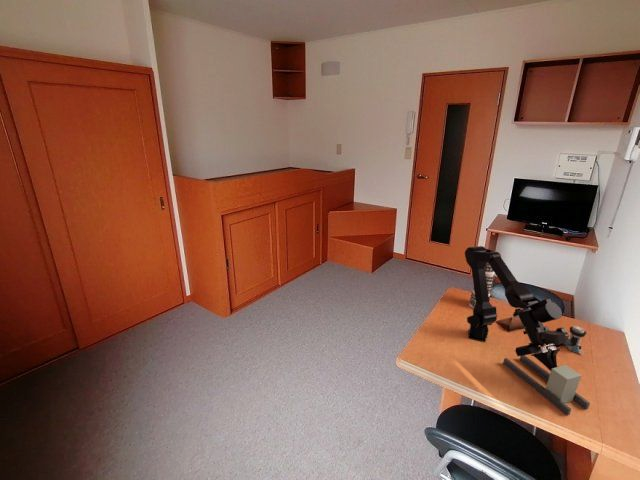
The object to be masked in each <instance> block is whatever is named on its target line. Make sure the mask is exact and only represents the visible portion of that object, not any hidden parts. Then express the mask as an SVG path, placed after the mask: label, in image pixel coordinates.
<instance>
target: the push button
mask: <svg viewBox="0 0 640 480" xmlns="http://www.w3.org/2000/svg"><path fill="white" fill-rule="evenodd" d="M569 333H570V335H569V337H568V338H569V340H570V342H571V345H567V346H564V347H565V348H566V349H568V350H569V351H572V352H573V353H576V354H577V353H579V354H580V355H584V351H583V350H582V346H581V340H582V338H584V337H585V336H586V335H587V331H586V330H585V328H584V327H581V326H580V325H572V326H570V327H569Z"/></svg>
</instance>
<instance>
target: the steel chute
mask: <svg viewBox="0 0 640 480" xmlns="http://www.w3.org/2000/svg"><path fill="white" fill-rule="evenodd" d="M519 361H521V362H522V363H523V364H525V365H526V366H527V367H528V368H529V369H531V370H533V371H534V372H535V373H536V374H537V375H539V376H540V377H542V378H543V379H544V380H546V381H547V382H548V380H549V376H550V373H551V372H548V371H547V370H546V369H545V368H543V367H541V366H540V365H539V364H538V363H536V362H535V361H533V360H532V359H530V358H529V357H528V356H527V355H523V356H519ZM502 364H503V365H504V366H505V367H506V368H507V369H509V370H511V372H513V373H514V374H515V375H516V376H517V377H519V378H520V379H521V380H523V381H524V382H525V383H526V384H528V385H529V386H530V387H531V388H532V389H534V391H536V392H537V393H539V394H540V395H541V396H542V397H543V398H545V399H546V401H548V402H550V403H551V404H552V405H553V406H554V407H556V408H557V409H558V410H559V411H560V412H562V413H563V414H564V415H566V416H568V417H569V416H570V415H571V411H572V408H571V407H570V406H569V405H567V404H566V403H563V402H562V401H561V400H560V399H558V398H557V397H556V396H554V395H553V394H552V393H551V392H549V391H548V390H547V389H546V387H544V385H542V384H541V383H539V382H538V381H537V380H535V379H534V378H532V377H531V376H530V375H529V374H528V373H526V372H525V371H524V370H522V369H521V368H520V367H519V366H517V365H516V364H515V363H513V362H512V360H509V359H508V358H507V357H506V358H503V361H502ZM573 401H574V402H575V403H576V404H578V405H579V406H580V407H582V408H583V409H584V410H588V409H589V407H590V404H591V402H589V401H588V400H587V399H585V398H584V397H583V396H581V394H579V393H577V392H576V393H575V395H574V398H573Z"/></svg>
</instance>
